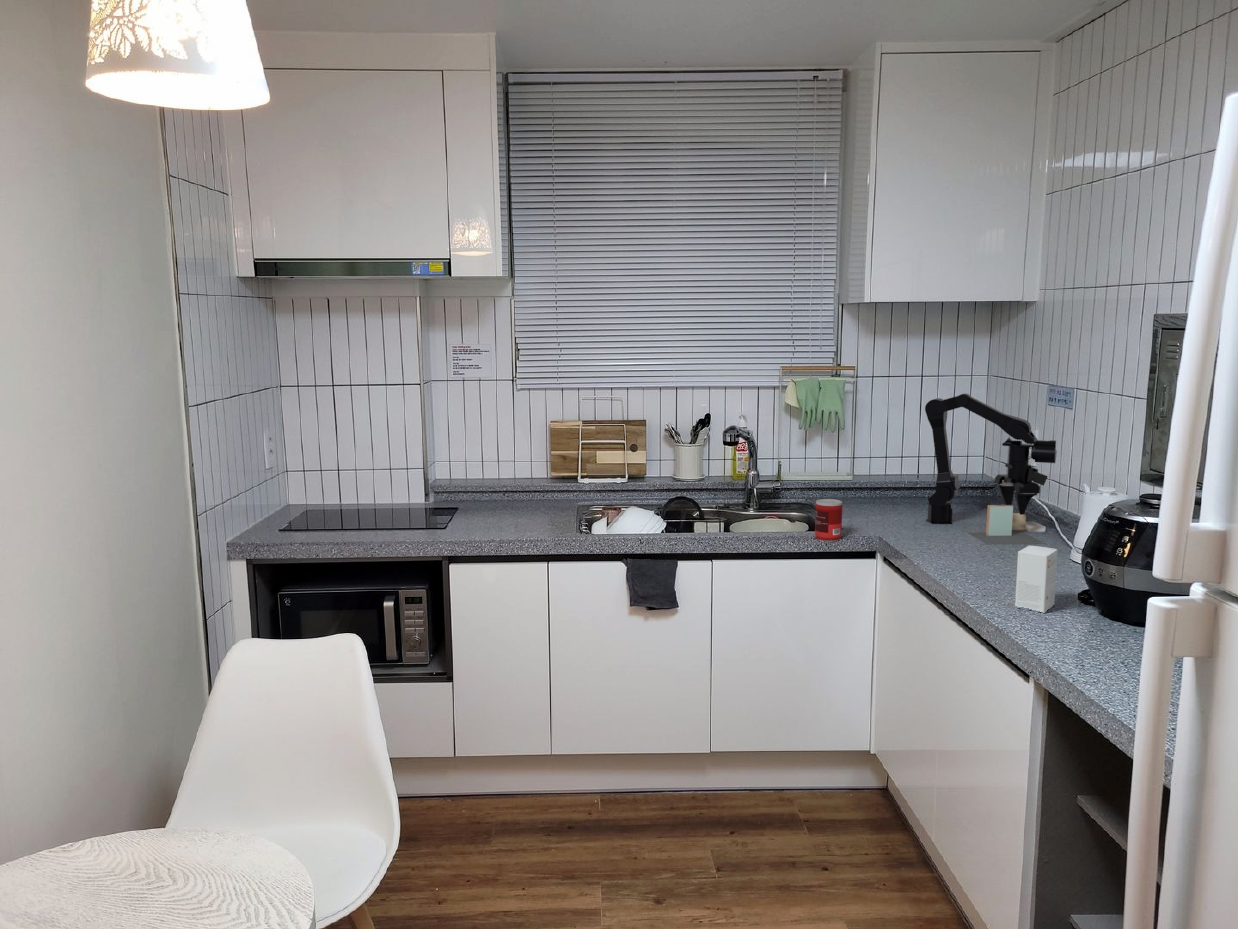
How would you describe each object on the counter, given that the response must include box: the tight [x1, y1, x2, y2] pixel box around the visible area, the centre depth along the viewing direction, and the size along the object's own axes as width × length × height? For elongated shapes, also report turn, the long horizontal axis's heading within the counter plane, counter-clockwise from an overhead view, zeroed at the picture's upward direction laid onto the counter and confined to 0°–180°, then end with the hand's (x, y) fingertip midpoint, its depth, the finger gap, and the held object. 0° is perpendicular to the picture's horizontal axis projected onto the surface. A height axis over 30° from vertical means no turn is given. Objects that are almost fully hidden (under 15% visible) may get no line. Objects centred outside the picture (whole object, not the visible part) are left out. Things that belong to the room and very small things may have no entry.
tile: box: [985, 504, 1014, 536], centre depth 271 cm, size 7×2×9 cm, turn 90°
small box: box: [1014, 544, 1059, 614], centre depth 202 cm, size 8×6×13 cm
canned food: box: [814, 498, 843, 541], centre depth 271 cm, size 8×8×11 cm
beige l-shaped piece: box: [1012, 512, 1047, 533], centre depth 280 cm, size 15×8×5 cm, turn 90°
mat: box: [967, 531, 1047, 546], centre depth 268 cm, size 17×15×1 cm
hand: (1015, 511), depth 280 cm, fingers open, 9 cm apart
